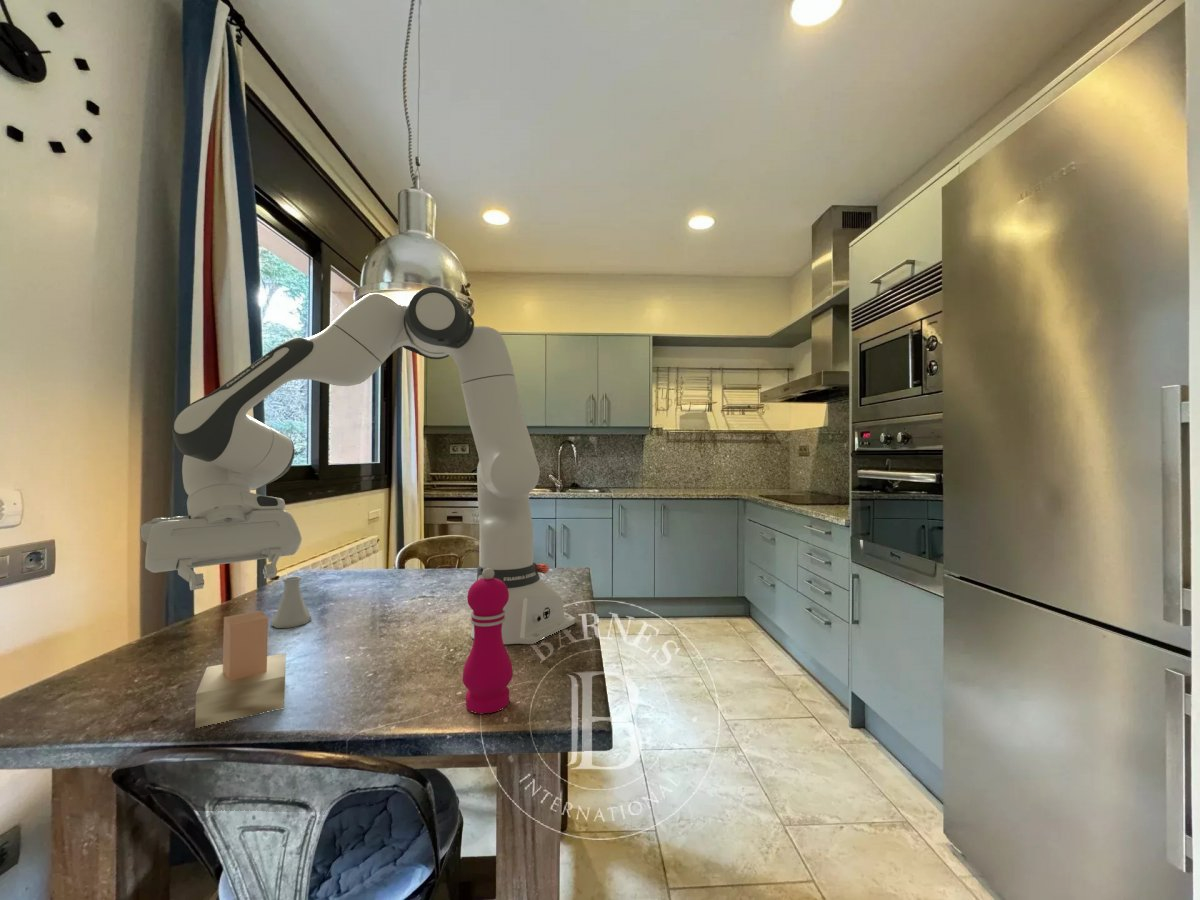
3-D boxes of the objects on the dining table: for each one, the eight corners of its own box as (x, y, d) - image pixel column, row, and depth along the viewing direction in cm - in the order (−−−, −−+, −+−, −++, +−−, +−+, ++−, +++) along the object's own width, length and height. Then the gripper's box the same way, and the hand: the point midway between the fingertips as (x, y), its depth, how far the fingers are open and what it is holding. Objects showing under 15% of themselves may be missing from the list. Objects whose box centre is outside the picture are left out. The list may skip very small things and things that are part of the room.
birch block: (285, 684, 79) (285, 653, 79) (284, 711, 71) (284, 676, 71) (206, 700, 74) (207, 666, 74) (195, 731, 65) (195, 693, 65)
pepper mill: (467, 693, 75) (468, 563, 76) (515, 691, 76) (515, 562, 76) (457, 717, 68) (458, 573, 69) (509, 715, 69) (510, 573, 69)
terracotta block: (258, 662, 76) (260, 610, 76) (266, 671, 72) (267, 617, 72) (222, 671, 72) (223, 617, 72) (229, 681, 69) (230, 625, 69)
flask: (292, 630, 103) (292, 582, 103) (263, 628, 105) (263, 581, 105) (318, 619, 110) (318, 575, 111) (291, 617, 112) (291, 573, 112)
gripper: (141, 506, 74) (148, 581, 67) (293, 498, 89) (312, 559, 83) (137, 533, 77) (143, 607, 70) (285, 520, 92) (302, 581, 85)
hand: (236, 581), depth 77 cm, fingers open, 8 cm apart
